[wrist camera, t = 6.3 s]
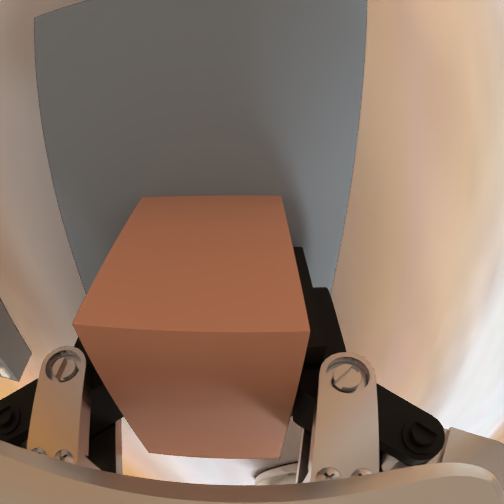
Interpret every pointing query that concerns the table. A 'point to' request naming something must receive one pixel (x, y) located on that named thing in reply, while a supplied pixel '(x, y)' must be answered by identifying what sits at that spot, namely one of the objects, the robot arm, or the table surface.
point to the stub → (201, 200)
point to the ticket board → (11, 348)
